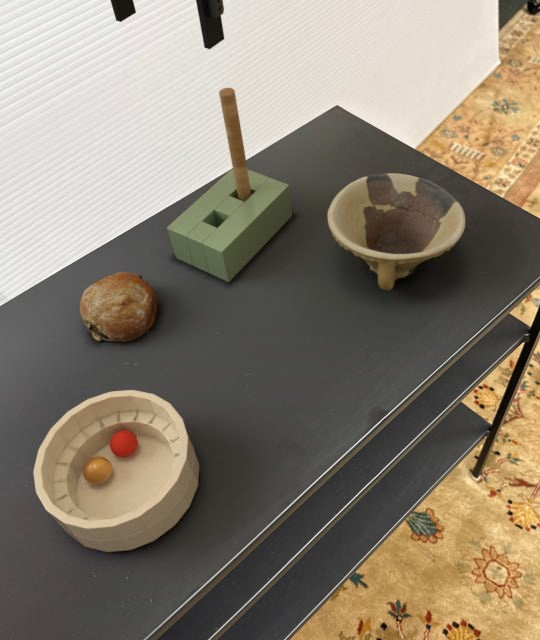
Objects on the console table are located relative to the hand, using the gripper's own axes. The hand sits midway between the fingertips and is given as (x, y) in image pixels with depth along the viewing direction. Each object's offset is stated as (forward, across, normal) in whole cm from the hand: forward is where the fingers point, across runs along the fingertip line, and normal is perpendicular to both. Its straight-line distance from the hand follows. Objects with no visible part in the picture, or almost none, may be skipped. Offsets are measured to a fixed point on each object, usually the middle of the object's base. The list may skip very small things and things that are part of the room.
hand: (169, 30), depth 76 cm
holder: (+30, -5, 0) cm, 31 cm away
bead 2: (+28, -16, +36) cm, 48 cm away
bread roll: (+30, -1, +20) cm, 37 cm away
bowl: (+30, -28, -6) cm, 42 cm away
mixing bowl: (+30, -19, +38) cm, 52 cm away
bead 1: (+28, -16, +40) cm, 51 cm away
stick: (+30, -5, -3) cm, 31 cm away
